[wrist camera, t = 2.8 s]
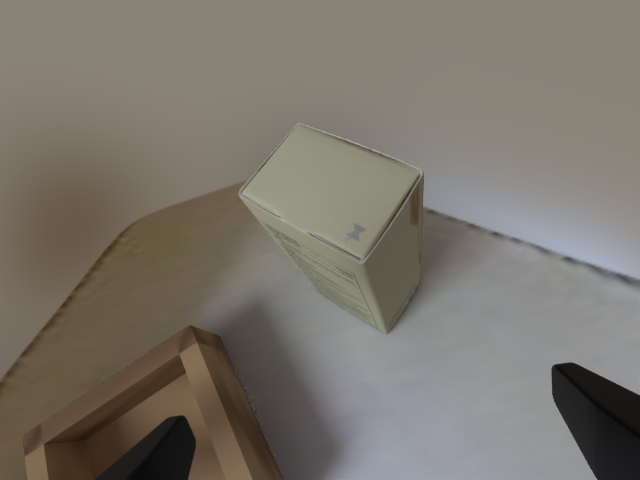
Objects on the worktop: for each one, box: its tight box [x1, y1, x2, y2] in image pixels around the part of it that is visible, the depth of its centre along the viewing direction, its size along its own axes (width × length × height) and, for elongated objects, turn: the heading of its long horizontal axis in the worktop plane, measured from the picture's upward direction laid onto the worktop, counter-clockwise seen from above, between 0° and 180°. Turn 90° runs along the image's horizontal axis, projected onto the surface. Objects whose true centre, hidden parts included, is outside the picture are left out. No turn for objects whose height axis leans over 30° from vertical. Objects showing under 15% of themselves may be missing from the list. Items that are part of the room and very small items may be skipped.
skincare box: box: [239, 123, 424, 334], centre depth 18 cm, size 6×4×12 cm
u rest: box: [22, 325, 283, 480], centre depth 20 cm, size 11×11×4 cm
